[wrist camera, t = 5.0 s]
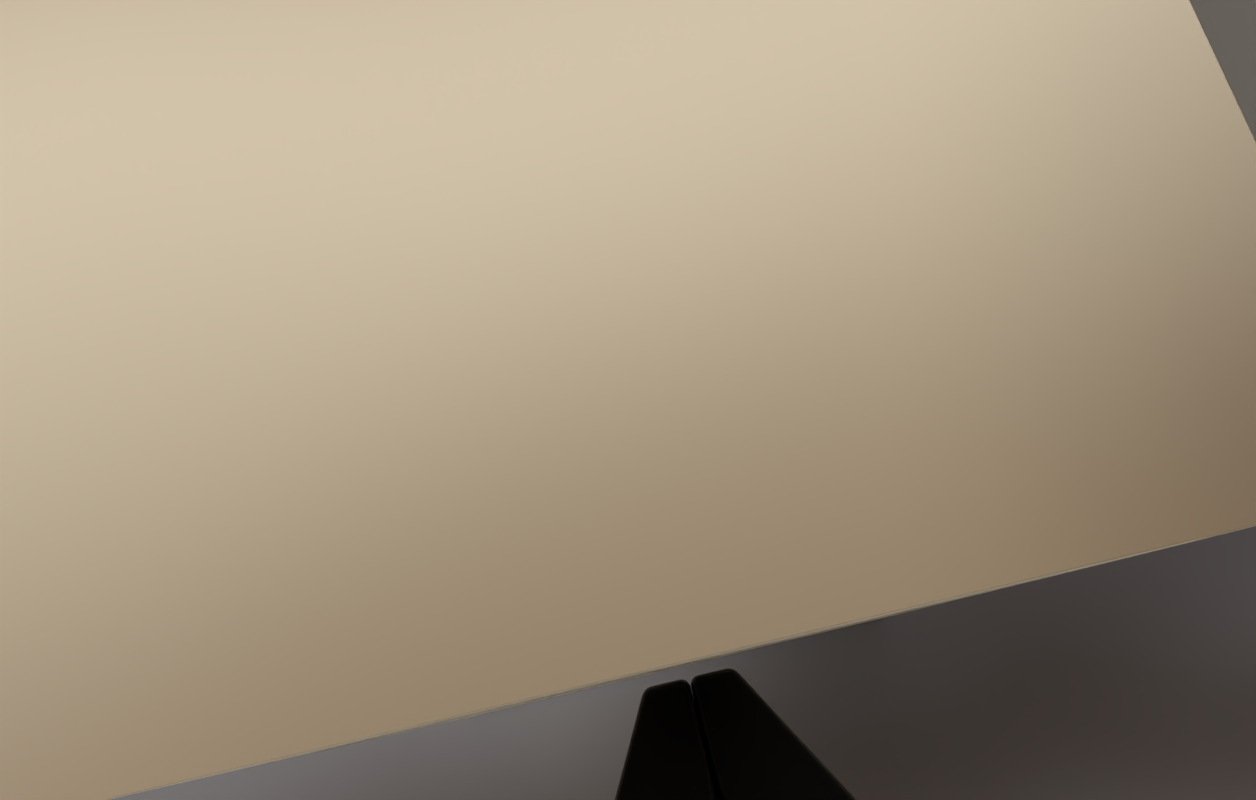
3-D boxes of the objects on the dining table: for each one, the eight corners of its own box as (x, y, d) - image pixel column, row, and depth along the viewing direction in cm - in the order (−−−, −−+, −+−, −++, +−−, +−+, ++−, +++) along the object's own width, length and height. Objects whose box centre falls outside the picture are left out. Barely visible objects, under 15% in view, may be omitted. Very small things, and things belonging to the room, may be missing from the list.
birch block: (888, 616, 13) (1418, 486, 4) (472, 716, 13) (-45, 836, 4) (726, 78, 16) (807, -818, 6) (375, 159, 16) (-88, -628, 6)
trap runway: (1368, 1009, 15) (1617, 1134, 11) (209, 1297, 14) (37, 1531, 10) (882, -235, 21) (928, -434, 17) (88, -57, 21) (-44, -219, 17)
